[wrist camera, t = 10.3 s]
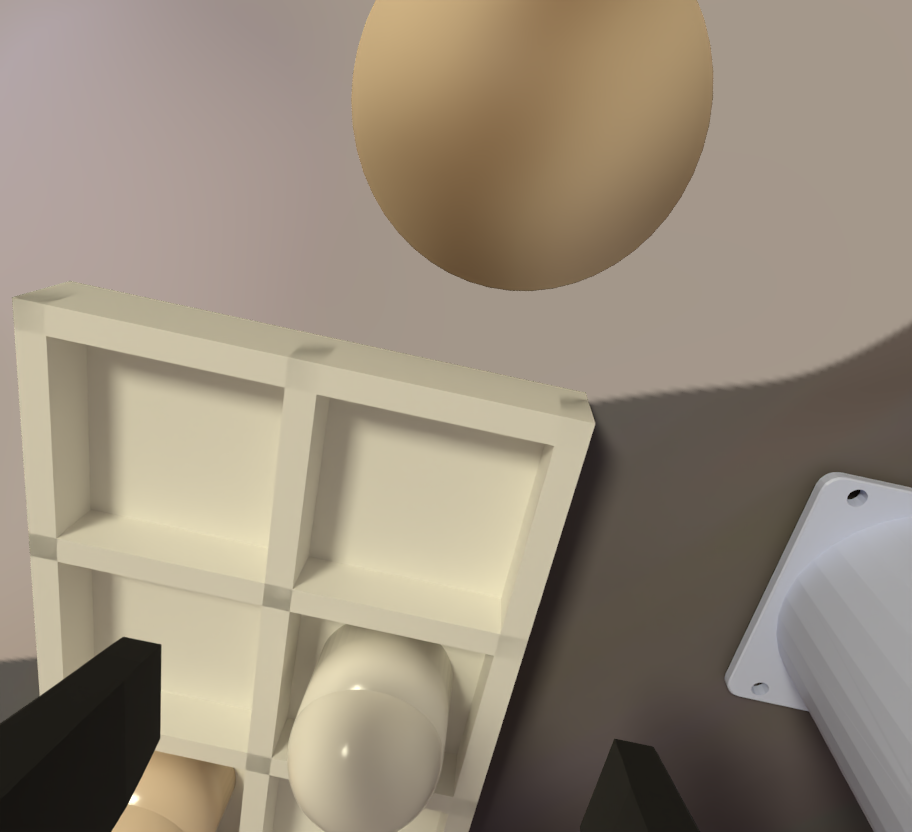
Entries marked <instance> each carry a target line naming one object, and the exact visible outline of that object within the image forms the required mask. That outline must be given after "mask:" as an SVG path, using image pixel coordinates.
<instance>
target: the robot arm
mask: <svg viewBox="0 0 912 832" xmlns="http://www.w3.org/2000/svg"><path fill="white" fill-rule="evenodd" d="M855 490H860V493H859V494H858V496H857V497H855V498H853V499H847V497H848V495H849V494H850V493H851V492H852V491H855ZM161 646H162V644H157V643H152V642H147V641H142V640H138V639H133V638H128V637H122V638H120V639H119V640H117V641H116V642H114V643H113V644H111V645H110V646H109V647H107V648H106V649H104V650H103V651H102V652H100V653H99V654H97V655H96V656H95V657H93V658H92V659H90V660H89V661H88V662H86V663H85V664H84V665H82V666H81V667H79V668H78V669H77V670H75V671H74V672H73V673H71V674H70V675H68V676H67V677H66V678H64V679H63V680H61V681H60V682H59V683H57V684H56V685H54V686H53V687H52V688H50V689H49V690H47V691H46V692H45V693H43V694H42V695H40V696H39V697H38V698H36V699H35V700H33V701H32V702H31V703H29V704H28V705H26V706H25V707H23V708H22V709H21V710H19V711H18V712H16V713H15V714H13V715H12V716H10V717H9V718H7V719H6V720H5V721H3V722H2V723H0V832H112V830H113V828H114V827H115V825H116V823H117V822H118V820H119V819H120V817H121V815H122V814H123V812H124V810H125V809H126V807H127V805H128V803H129V801H130V799H131V797H132V795H133V793H134V791H135V789H136V787H137V786H138V784H139V782H140V780H141V778H142V776H143V774H144V772H145V769H146V767H147V765H148V763H149V761H150V759H151V757H152V755H153V753H154V751H155V749H156V747H157V745H158V743H159V740H160V728H161ZM725 682H726V684H727V687H728V689H729V691H730V692H731V693H732V694H734V695H736V696H740V697H744V698H749V699H753V700H758V701H763V702H767V703H772V704H777V705H781V706H786V707H791V708H795V709H800V710H804V711H809V712H810V714H811V716H812V718H813V720H814V722H815V724H816V725H817V727H818V729H819V731H820V733H821V735H822V737H823V738H824V740H825V742H826V744H827V746H828V748H829V750H830V751H831V753H832V755H833V757H834V759H835V761H836V763H837V764H838V766H839V768H840V770H841V772H842V774H843V776H844V777H845V779H846V781H847V783H848V785H849V787H850V789H851V790H852V792H853V794H854V796H855V798H856V800H857V802H858V803H859V805H860V807H861V809H862V811H863V813H864V815H865V816H866V818H867V820H868V822H869V824H870V826H871V828H872V829H873V831H874V832H912V488H911V487H906V486H902V485H897V484H892V483H888V482H883V481H879V480H874V479H869V478H865V477H860V476H855V475H851V474H846V473H842V472H832V473H829V474H826V475H825V476H823V477H822V478H820V479H819V481H818V482H817V483H816V485H815V487H814V489H813V491H812V493H811V495H810V498H809V500H808V502H807V504H806V506H805V508H804V510H803V512H802V514H801V516H800V519H799V521H798V523H797V525H796V527H795V529H794V531H793V533H792V535H791V537H790V540H789V542H788V544H787V546H786V548H785V550H784V552H783V554H782V556H781V558H780V561H779V563H778V565H777V567H776V569H775V571H774V573H773V575H772V577H771V579H770V582H769V584H768V586H767V588H766V590H765V592H764V594H763V596H762V598H761V600H760V603H759V605H758V607H757V609H756V611H755V613H754V615H753V617H752V619H751V621H750V624H749V626H748V628H747V630H746V632H745V634H744V636H743V638H742V640H741V642H740V645H739V647H738V649H737V651H736V653H735V655H734V657H733V659H732V661H731V663H730V666H729V668H728V670H727V672H726V674H725ZM756 683H762V684H760V685H758V686H753V685H754V684H756ZM580 832H700V831H699V829H698V827H697V825H696V824H695V822H694V820H693V818H692V816H691V815H690V813H689V811H688V809H687V807H686V805H685V804H684V802H683V800H682V798H681V796H680V794H679V793H678V791H677V789H676V787H675V785H674V783H673V781H672V780H671V778H670V776H669V774H668V772H667V770H666V768H665V767H664V765H663V763H662V761H661V759H660V757H659V755H658V754H657V752H656V751H655V749H654V747H652V746H647V745H642V744H637V743H633V742H628V741H623V740H618V739H614V741H613V744H612V746H611V749H610V752H609V754H608V757H607V759H606V762H605V764H604V767H603V769H602V772H601V775H600V777H599V780H598V782H597V785H596V787H595V790H594V792H593V795H592V798H591V800H590V803H589V805H588V808H587V810H586V813H585V815H584V818H583V821H582V823H581V826H580Z"/></svg>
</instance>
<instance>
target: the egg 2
mask: <svg viewBox="0 0 912 832" xmlns="http://www.w3.org/2000/svg"><path fill="white" fill-rule="evenodd" d="M452 679H453V671H452V665H451V662H450V659H449V657H448V655H447V653H446V651H445V649H444V648H443V647H442V645H441V644H437V643H432V642H428V641H423V640H418V639H414V638H409V637H405V636H400V635H395V634H391V633H386V632H381V631H377V630H372V629H367V628H363V627H358V626H354V625H349V624H345V625H343V626H341V627H340V628H338V629H337V630H336V631H335V632H333V633H332V635H331V636H330V637H329V638H328V639H327V641H326V642H325V644H324V646H323V649H322V651H321V654H320V656H319V659H318V661H317V664H316V667H315V669H314V672H313V674H312V677H311V680H310V682H309V685H308V687H307V690H306V693H305V695H304V698H303V701H302V703H301V706H300V708H299V711H298V714H297V716H296V719H295V721H294V724H293V727H292V730H291V734H290V738H289V742H288V749H287V769H288V776H289V782H290V785H291V788H292V791H293V794H294V797H295V799H296V801H297V803H298V804H299V806H300V808H301V809H302V811H303V812H304V814H305V815H306V816H307V817H308V818H309V819H310V820H311V821H312V822H313V823H314V824H315V825H316V826H317V827H318V828H320V829H321V830H322V831H324V832H398V831H399V830H401V829H402V828H404V827H406V826H407V825H408V824H409V823H410V822H412V821H413V820H414V819H415V818H416V817H417V816H418V815H419V814H420V813H421V811H422V810H423V809H424V807H425V806H426V805H427V803H428V802H429V800H430V798H431V797H432V795H433V793H434V791H435V789H436V786H437V783H438V781H439V778H440V775H441V770H442V765H443V759H444V751H445V742H446V733H447V724H448V715H449V706H450V697H451V688H452Z"/></svg>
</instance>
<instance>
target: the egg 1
mask: <svg viewBox="0 0 912 832" xmlns="http://www.w3.org/2000/svg"><path fill="white" fill-rule="evenodd" d="M235 784H236V774H235V770H234V768H233V767H229V766H224V765H219V764H215V763H210V762H206V761H201V760H196V759H192V758H187V757H182V756H178V755H173V754H168V753H164V752H159V751H154V753H153V755H152V757H151V759H150V761H149V763H148V765H147V767H146V769H145V772H144V774H143V776H142V778H141V780H140V782H139V784H138V786H137V787H136V789H135V791H134V793H133V795H132V797H131V799H130V801H129V803H128V805H127V807H126V809H125V810H124V812H123V814H122V815H121V817H120V819H119V820H118V822H117V823H116V825H115V827H114V828H113V830H112V832H216V830H217V827H218V825H219V823H220V821H221V818H222V816H223V814H224V811H225V809H226V807H227V805H228V802H229V800H230V798H231V795H232V793H233V791H234V788H235Z"/></svg>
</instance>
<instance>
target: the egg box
mask: <svg viewBox="0 0 912 832" xmlns="http://www.w3.org/2000/svg"><path fill="white" fill-rule="evenodd" d="M12 302H13V317H14V332H15V345H16V360H17V374H18V389H19V403H20V417H21V432H22V446H23V461H24V475H25V489H26V504H27V517H28V532H29V546H30V561H31V575H32V590H33V604H34V618H35V633H36V647H37V661H38V676H39V690H40V695H42V694H43V693H45V692H46V691H47V690H49V689H50V688H52V687H53V686H54V685H56V684H57V683H59V682H60V681H61V680H63V679H64V678H66V677H67V676H68V675H70V674H71V673H73V672H74V671H75V670H77V669H78V668H79V667H81V666H82V665H84V664H85V663H86V662H88V661H89V660H90V659H92V658H93V657H95V656H96V655H97V654H99V653H100V652H102V651H103V650H104V649H106V648H107V647H109V646H110V645H111V644H113V643H114V642H116V641H117V640H119V639H120V638H122V637H128V638H133V639H138V640H142V641H147V642H152V643H157V644H162V646H161V728H160V740H159V743H158V745H157V747H156V749H155V751H159V752H164V753H168V754H173V755H178V756H182V757H187V758H192V759H196V760H201V761H206V762H210V763H215V764H219V765H224V766H229V767H233V768H234V770H235V774H236V784H235V788H234V791H233V793H232V795H231V798H230V800H229V802H228V805H227V807H226V809H225V811H224V814H223V816H222V818H221V821H220V823H219V825H218V827H217V830H216V832H324V831H322V830H321V829H320V828H318V827H317V826H316V825H315V824H314V823H313V822H312V821H311V820H310V819H309V818H308V817H307V816H306V815H305V814H304V812H303V811H302V809H301V808H300V806H299V804H298V803H297V801H296V799H295V797H294V794H293V791H292V788H291V785H290V782H289V776H288V769H287V749H288V742H289V738H290V734H291V730H292V727H293V724H294V721H295V719H296V716H297V714H298V711H299V708H300V706H301V703H302V701H303V698H304V695H305V693H306V690H307V687H308V685H309V682H310V680H311V677H312V674H313V672H314V669H315V667H316V664H317V661H318V659H319V656H320V654H321V651H322V649H323V646H324V644H325V642H326V641H327V639H328V638H329V637H330V636H331V635H332V633H333V632H335V631H336V630H337V629H338V628H340V627H341V626H343V625H345V624H349V625H354V626H358V627H363V628H367V629H372V630H377V631H381V632H386V633H391V634H395V635H400V636H405V637H409V638H414V639H418V640H423V641H428V642H432V643H437V644H441V645H442V647H443V648H444V649H445V651H446V653H447V655H448V657H449V659H450V662H451V665H452V671H453V679H452V688H451V697H450V706H449V715H448V724H447V733H446V742H445V751H444V759H443V765H442V770H441V775H440V778H439V781H438V783H437V786H436V789H435V791H434V793H433V795H432V797H431V798H430V800H429V802H428V803H427V805H426V806H425V807H424V809H423V810H422V811H421V813H420V814H419V815H418V816H417V817H416V818H415V819H414V820H413V821H412V822H410V823H409V824H408V825H407V826H406V827H404V828H402V829H401V830H399V831H398V832H469V829H470V825H471V822H472V819H473V816H474V813H475V809H476V806H477V803H478V800H479V796H480V793H481V790H482V787H483V784H484V780H485V777H486V774H487V771H488V767H489V764H490V761H491V758H492V755H493V751H494V748H495V745H496V742H497V739H498V735H499V732H500V729H501V726H502V722H503V719H504V716H505V713H506V710H507V706H508V703H509V700H510V697H511V694H512V690H513V687H514V684H515V681H516V677H517V674H518V671H519V668H520V665H521V661H522V658H523V655H524V652H525V648H526V645H527V642H528V639H529V636H530V632H531V629H532V626H533V623H534V620H535V616H536V613H537V610H538V607H539V603H540V600H541V597H542V594H543V591H544V587H545V584H546V581H547V578H548V575H549V571H550V568H551V565H552V562H553V558H554V555H555V552H556V549H557V546H558V542H559V539H560V536H561V533H562V529H563V526H564V523H565V520H566V517H567V513H568V510H569V507H570V504H571V501H572V497H573V494H574V491H575V488H576V484H577V481H578V478H579V475H580V472H581V468H582V465H583V462H584V459H585V456H586V452H587V449H588V446H589V443H590V439H591V436H592V433H593V430H594V427H595V421H594V418H593V415H592V411H591V408H590V405H589V402H588V399H587V396H586V393H584V392H580V391H575V390H571V389H566V388H561V387H557V386H552V385H548V384H543V383H538V382H534V381H529V380H524V379H520V378H515V377H511V376H506V375H501V374H497V373H492V372H488V371H483V370H478V369H474V368H469V367H464V366H460V365H455V364H450V363H446V362H441V361H437V360H432V359H427V358H423V357H418V356H413V355H409V354H404V353H399V352H395V351H391V350H386V349H381V348H377V347H372V346H367V345H363V344H358V343H354V342H349V341H344V340H340V339H335V338H330V337H325V336H321V335H317V334H312V333H307V332H303V331H298V330H293V329H289V328H284V327H280V326H275V325H270V324H265V323H261V322H256V321H252V320H247V319H243V318H238V317H234V316H229V315H224V314H220V313H215V312H210V311H206V310H201V309H197V308H192V307H187V306H183V305H178V304H173V303H169V302H164V301H159V300H155V299H151V298H146V297H141V296H137V295H132V294H127V293H123V292H118V291H114V290H109V289H104V288H100V287H95V286H91V285H86V284H81V283H76V282H72V281H69V282H65V283H62V284H58V285H54V286H51V287H47V288H44V289H40V290H37V291H33V292H30V293H26V294H22V295H19V296H15V297H12Z"/></svg>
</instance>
